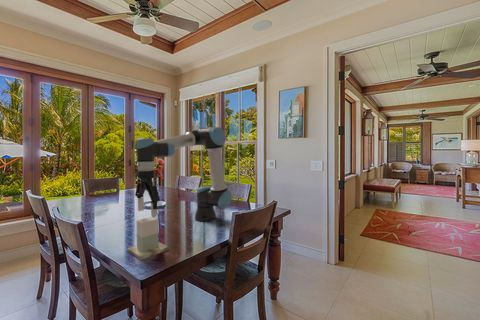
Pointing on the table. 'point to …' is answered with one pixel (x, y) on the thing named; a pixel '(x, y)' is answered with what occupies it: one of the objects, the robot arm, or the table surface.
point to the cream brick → (147, 226)
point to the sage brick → (147, 242)
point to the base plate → (148, 253)
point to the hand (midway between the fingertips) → (147, 213)
